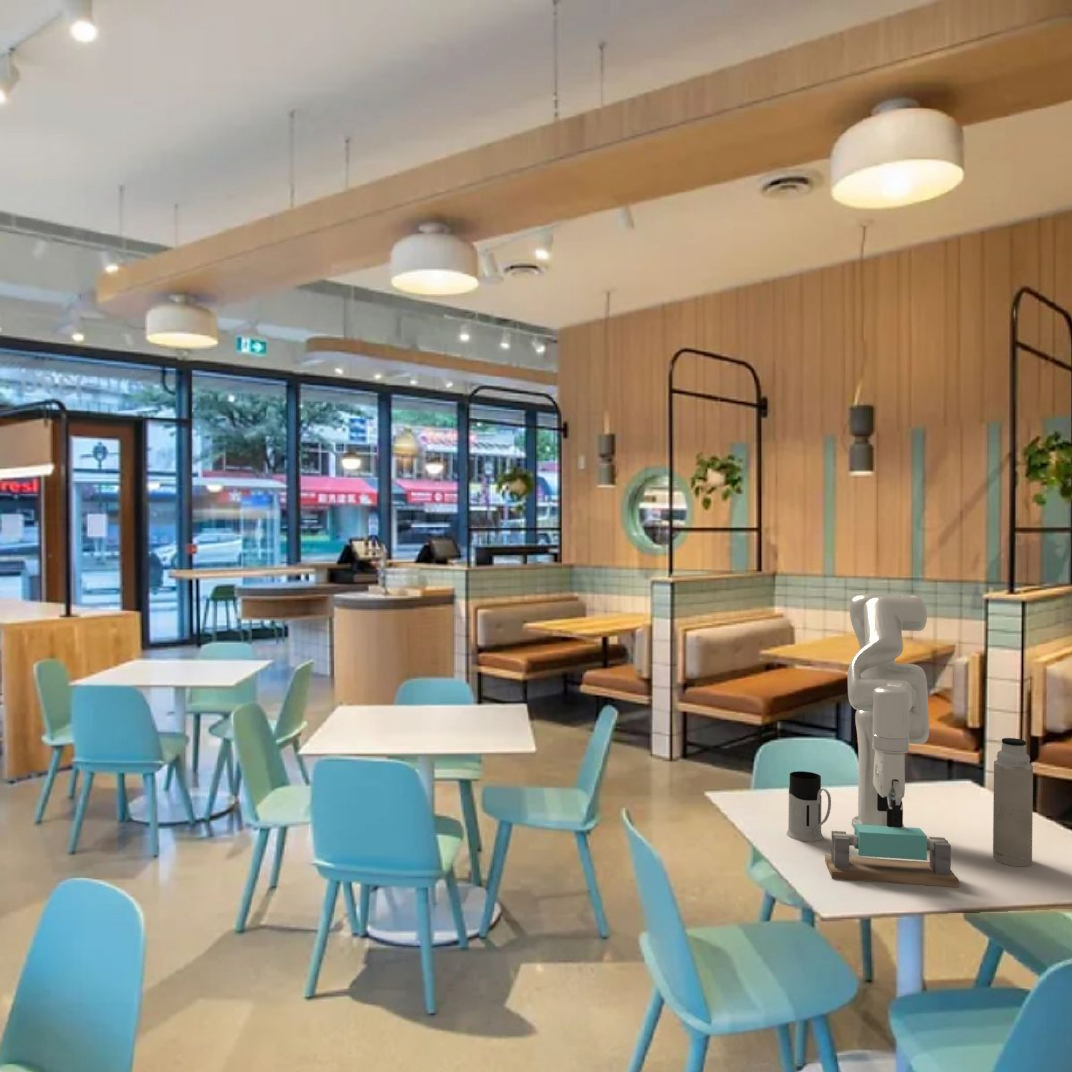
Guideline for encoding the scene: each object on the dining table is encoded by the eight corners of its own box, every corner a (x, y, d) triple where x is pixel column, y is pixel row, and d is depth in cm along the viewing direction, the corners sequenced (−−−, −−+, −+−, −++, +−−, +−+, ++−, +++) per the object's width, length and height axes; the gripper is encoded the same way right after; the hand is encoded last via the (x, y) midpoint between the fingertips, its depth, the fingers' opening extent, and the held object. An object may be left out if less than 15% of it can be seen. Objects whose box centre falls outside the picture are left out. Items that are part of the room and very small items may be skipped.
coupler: (854, 847, 200) (854, 824, 200) (919, 851, 198) (919, 828, 198) (859, 856, 194) (859, 832, 194) (927, 860, 192) (926, 836, 192)
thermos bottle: (986, 853, 208) (987, 735, 208) (1019, 853, 209) (1020, 735, 208) (1005, 866, 200) (1006, 743, 200) (1039, 866, 201) (1040, 743, 201)
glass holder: (808, 827, 226) (809, 769, 226) (844, 846, 213) (845, 784, 212) (779, 831, 223) (779, 772, 223) (814, 850, 210) (814, 787, 210)
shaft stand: (824, 861, 203) (825, 825, 203) (945, 869, 199) (945, 833, 199) (831, 878, 193) (832, 840, 193) (958, 887, 189) (959, 848, 189)
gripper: (865, 731, 205) (864, 804, 206) (881, 753, 188) (880, 832, 189) (899, 733, 204) (898, 806, 205) (918, 754, 187) (917, 834, 187)
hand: (889, 818), depth 197 cm, fingers open, 9 cm apart
